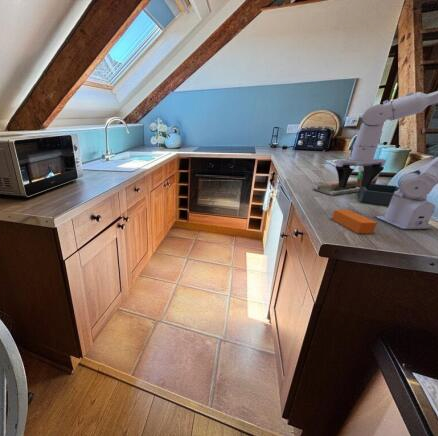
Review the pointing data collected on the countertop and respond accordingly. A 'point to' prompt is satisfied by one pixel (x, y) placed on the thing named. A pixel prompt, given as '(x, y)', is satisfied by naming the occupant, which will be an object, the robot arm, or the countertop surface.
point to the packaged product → (337, 187)
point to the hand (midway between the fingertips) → (352, 187)
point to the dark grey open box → (377, 194)
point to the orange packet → (354, 221)
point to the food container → (360, 176)
